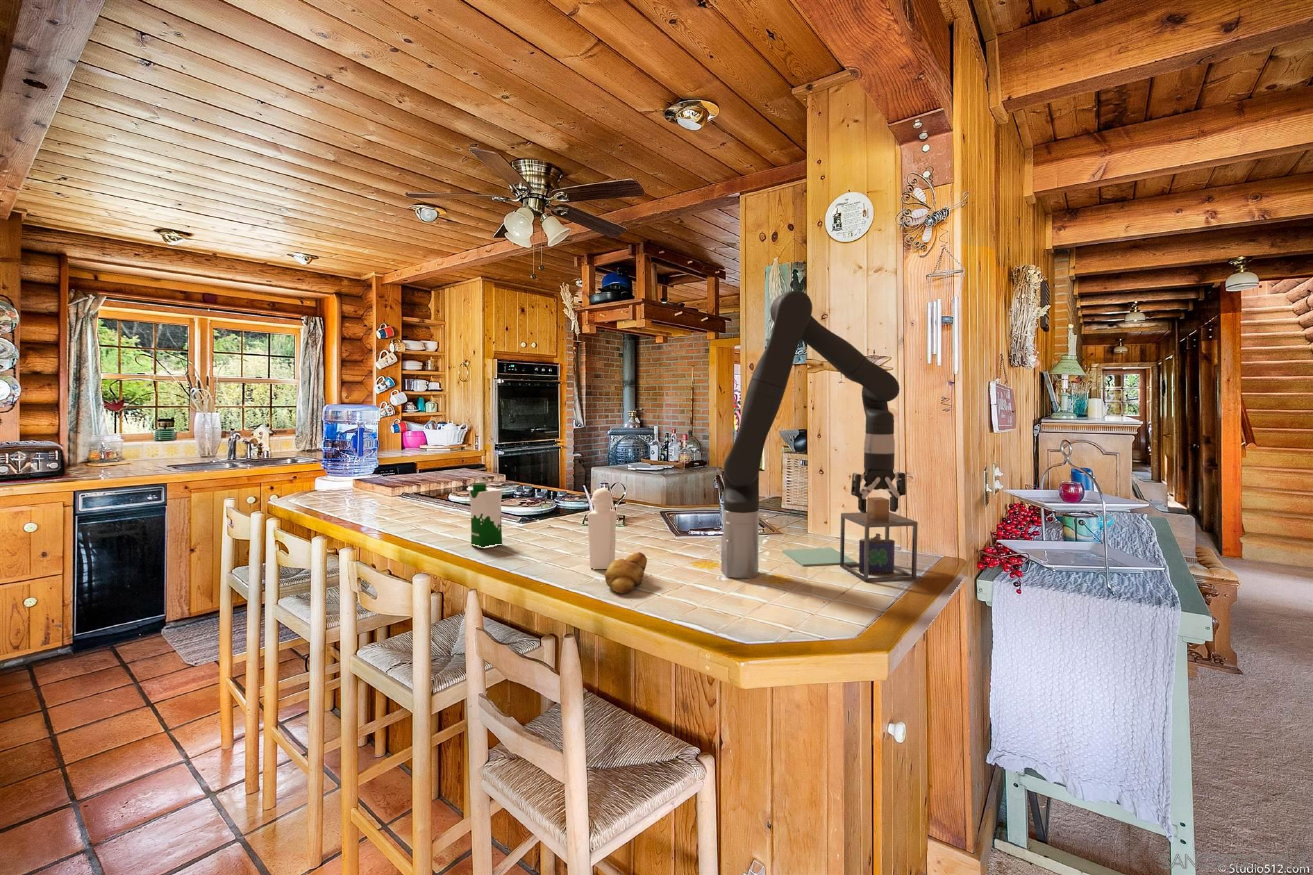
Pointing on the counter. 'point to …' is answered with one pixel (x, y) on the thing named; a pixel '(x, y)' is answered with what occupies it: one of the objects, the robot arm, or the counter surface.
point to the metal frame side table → (883, 518)
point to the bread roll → (626, 573)
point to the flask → (878, 556)
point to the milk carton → (485, 515)
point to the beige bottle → (602, 530)
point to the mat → (817, 556)
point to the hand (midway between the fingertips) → (878, 511)
